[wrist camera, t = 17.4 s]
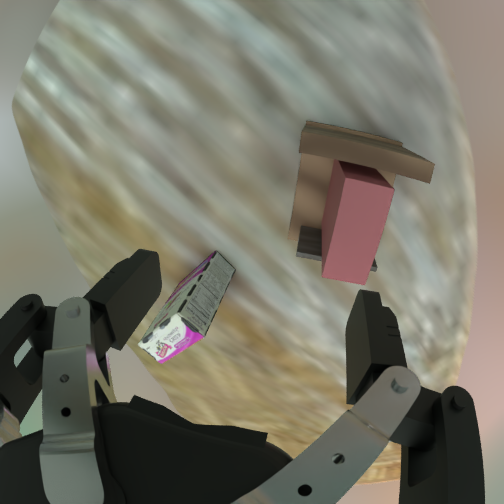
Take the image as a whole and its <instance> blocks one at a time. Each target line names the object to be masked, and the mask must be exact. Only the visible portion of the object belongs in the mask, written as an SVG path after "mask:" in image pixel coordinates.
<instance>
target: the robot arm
mask: <svg viewBox="0 0 504 504" xmlns="http://www.w3.org/2000/svg"><path fill="white" fill-rule="evenodd" d="M161 288H162V280H161V272H160V263H159V255H158V253H157V252H154V251H149V250H144V249H138V250H137V251H136V252H135V253H134V254H133V255H132V256H131V257H130V258H126V259H124V260H123V261H121V262H119V263H117V264H116V265H115V266H114V267H113V268H112V269H111V270H110V271H109V272H108V273H107V274H106V275H105V276H104V278H102V279H101V280H100V281H99V282H98V283H97V284H96V285H95V286H94V287H93V288H92V289H91V290H90V291H89V292H88V293H87V294H86V295H85V296H84V297H83V298H81V297H73V298H69V299H66V300H65V301H63V302H62V303H60V305H59V306H58V307H51V306H44V304H43V301H42V299H41V297H40V296H39V295H37V294H29V295H25V296H23V297H22V298H20V299H19V300H18V301H17V302H16V303H15V304H14V305H13V306H12V307H11V308H10V309H9V310H8V311H7V312H6V313H5V314H4V316H3V317H2V318H1V319H0V504H336V503H337V502H338V501H339V500H340V499H341V497H343V496H344V495H345V493H346V492H347V491H348V490H349V489H350V488H351V487H352V486H353V485H354V484H355V483H356V482H357V481H358V480H359V478H360V477H361V476H362V475H363V474H364V473H365V472H366V470H367V469H368V468H369V467H370V466H371V465H372V463H373V462H374V461H375V460H376V458H377V457H378V456H379V455H380V453H381V452H382V451H383V450H384V448H385V447H386V446H387V444H388V443H389V441H392V442H395V443H398V444H401V478H400V494H399V504H485V487H484V469H483V459H482V449H481V443H480V435H479V428H478V422H477V417H476V411H475V406H474V402H473V399H472V397H471V395H470V394H469V393H468V392H467V391H466V390H465V389H463V388H461V387H459V386H450V387H448V388H446V389H445V390H444V391H443V393H442V394H441V393H438V392H435V391H432V390H429V389H427V388H424V387H422V386H421V385H420V381H419V379H418V377H417V376H416V374H415V373H414V372H412V371H411V370H410V369H408V368H407V363H406V358H405V353H404V349H403V344H402V339H401V338H400V336H401V335H400V331H399V329H398V328H399V327H398V322H397V318H396V316H395V315H394V313H393V312H392V311H391V309H390V308H389V307H384V306H382V302H381V298H380V294H379V292H374V291H367V290H361V289H360V290H359V291H358V294H357V296H356V299H355V302H354V305H353V308H352V310H351V313H350V316H349V318H348V321H347V326H346V334H345V336H346V373H347V402H346V404H352V405H354V406H353V407H352V408H351V409H350V410H347V411H346V412H345V413H344V414H343V415H342V416H341V417H340V418H339V419H338V420H337V421H336V422H335V423H334V424H333V425H332V426H330V427H329V428H328V429H327V430H326V431H325V432H324V433H323V434H322V435H321V436H320V437H319V438H318V439H317V440H316V441H314V442H313V443H312V444H311V445H310V446H309V447H308V448H307V449H305V450H304V451H303V452H302V453H301V454H300V455H298V456H297V457H296V458H295V459H293V458H292V457H290V456H289V455H288V454H287V453H286V452H284V451H283V450H282V449H280V448H279V447H277V446H275V445H273V444H271V443H269V442H267V441H266V439H267V434H268V433H265V432H260V431H255V430H250V429H245V428H240V427H236V426H223V425H200V424H194V423H191V422H189V421H188V420H186V419H184V418H182V417H181V416H179V415H177V414H176V413H174V412H172V411H171V410H169V409H168V408H166V407H164V406H163V405H160V404H157V403H154V402H151V401H148V400H146V399H143V398H141V397H138V396H136V395H134V396H133V398H132V399H131V401H130V403H127V402H117V401H116V398H115V395H114V390H113V385H112V378H111V371H110V364H109V357H108V353H107V351H108V349H109V348H110V347H112V348H115V349H117V350H120V351H121V349H122V348H123V346H124V345H125V344H126V342H127V341H128V339H129V338H130V336H131V335H132V333H133V332H134V331H135V329H136V328H137V326H138V325H139V323H140V322H141V321H142V319H143V318H144V316H145V315H146V314H147V312H148V311H149V309H150V308H151V307H152V305H153V304H154V302H155V301H156V300H157V298H158V297H159V295H160V292H161ZM27 339H28V341H29V342H30V344H31V346H32V348H31V349H30V350H29V352H28V353H27V354H26V356H25V357H24V358H23V360H22V361H21V362H20V364H19V365H18V366H17V368H16V366H15V364H14V356H15V354H16V352H17V351H18V350H19V348H20V347H21V346H22V345H23V343H24V342H25V341H26V340H27ZM41 389H42V417H43V429H42V430H39V431H37V432H34V433H31V434H29V435H26V436H23V437H22V434H21V433H20V432H19V431H20V424H21V422H22V420H23V419H24V417H25V415H26V414H27V412H28V410H29V409H30V407H31V405H32V404H33V402H34V400H35V399H36V397H37V396H38V394H39V393H40V391H41Z"/></svg>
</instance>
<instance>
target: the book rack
mask: <svg viewBox="0 0 504 504" xmlns="http://www.w3.org/2000/svg"><path fill="white" fill-rule="evenodd" d="M402 144H403V143H401V142H398V141H395V140H391V139H388V138H384V137H380V136H376V135H372V134H368V133H364V132H360V131H356V130H351V129H347V128H342V127H337V126H332V125H327V124H322V123H317V122H311V121H306V125H305V127H304V129H303V130H302V133H301V140H300V147H299V153H302V155H301V161H300V168H299V175H298V181H297V187H296V193H295V200H294V206H293V212H292V218H291V224H290V229H289V235H288V239H290V240H295V241H298V247H297V253H296V256H297V257H303V258H308V259H313V260H318V261H322V226H321V222H322V218H323V213H324V208H325V204H326V199H327V194H328V189H329V184H330V178H331V173H332V168H333V162H334V159H336V160H340V161H345V162H350V163H354V164H359V165H363V166H367V167H371V168H375V169H377V170H378V172H379V173H380V174H381V175H382V176H383V177H384V178H385V179H386V180H387V181H388V182H389V184H390V185H391V186H392V187H393V184H394V180H395V176H396V174H399V175H402V176H406V177H409V178H413V179H416V180H420V181H423V182H426V183H430V181H431V178H432V174H433V169H434V165H435V164H434V163H432V162H430V161H428V160H427V159H425V158H423V157H421V156H419V155H417V154H415V153H413V152H411V151H410V150H408V149H406V148H404V147H402ZM376 270H377V265H376V261H375V258H374V260H373V263H372V266H371V269H370V271H375V272H376Z"/></svg>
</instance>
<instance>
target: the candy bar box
mask: <svg viewBox="0 0 504 504" xmlns="http://www.w3.org/2000/svg"><path fill="white" fill-rule="evenodd" d="M234 272H235V269H234V268H233V267H232V265H231V264H229V263H228V262H227V261H226V260H225V259H224V258H223V257H222V256H221V255H220V254H219V253H218V252H217V251H215V252H214V253H212V254H211V255H210V256H209V257H208V258H207V259H206V260H205V261H203V262H202V263H201V264H200V265H199V266H198V267H197V268H196V269H195V270H193V271H192V272H191V273H190V274H189V275H188V276H187V277H186V278H185V279H183V280H182V281H181V282H180V283H179V284H178V286H177V287H176V289H175V290H174V292H173V293H172V295H171V296H170V298H169V299H168V300H167V302H166V303H165V305H164V306H163V308H162V309H161V311H160V312H159V314H158V315H157V317H156V318H155V320H154V321H153V323H152V324H151V326H150V327H149V329H148V330H147V331H146V333H145V335H144V336H143V338H142V339H141V341H140V342H139V343H138V345H139V346H140V347H141V348H142V349H144V350H145V351H146V352H147V353H148V354H150V355H151V356H152V357H154V358H155V360H156V361H158V362H160V363H161V364H163V363H165V362H166V361H168V360H169V359H171V358H172V357H174V356H176V355H177V354H179V353H181V352H182V351H184V350H185V349H187V348H189V347H190V346H192V345H193V344H195V343H197V342H198V341H200V340H202V339H203V338H205V335H206V333H207V331H208V329H209V326H210V325H211V322H212V320H213V318H214V316H215V313H216V312H217V309H218V307H219V305H220V302H221V300H222V298H223V296H224V294H225V291H226V289H227V287H228V285H229V283H230V281H231V279H232V276H233V274H234Z"/></svg>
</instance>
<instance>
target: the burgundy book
mask: <svg viewBox="0 0 504 504" xmlns="http://www.w3.org/2000/svg"><path fill="white" fill-rule="evenodd" d="M394 190H395V189H394V188H393V187H392V186H391V185H390V184H389V182H388V181H387V180H386V179H385V178H384V177H383V176H382V175H381V174H380V173H379V172H378V170H377V169H375V168H371V167H367V166H363V165H359V164H354V163H350V162H345V161H340V160H336V159H334V162H333V168H332V173H331V178H330V184H329V189H328V194H327V199H326V204H325V208H324V213H323V218H322V222H321V226H322V277H324V278H329V279H334V280H340V281H345V282H350V283H356V284H361V285H365V283H366V281H367V278H368V275H369V272H370V269H371V266H372V263H373V260H374V258H375V254H376V251H377V248H378V245H379V242H380V239H381V236H382V232H383V229H384V226H385V222H386V219H387V215H388V212H389V208H390V205H391V201H392V197H393V193H394Z"/></svg>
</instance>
